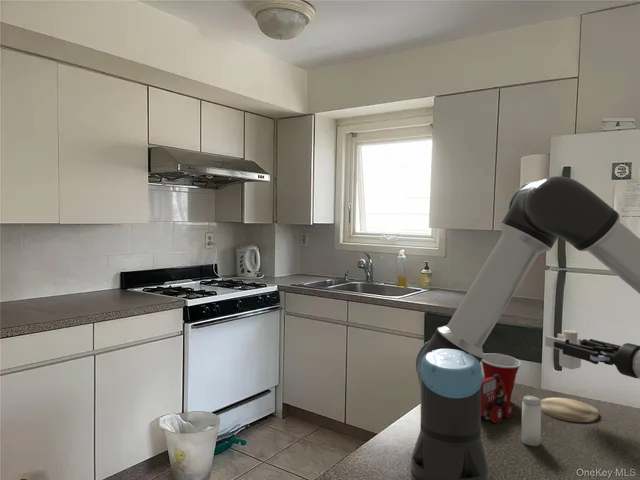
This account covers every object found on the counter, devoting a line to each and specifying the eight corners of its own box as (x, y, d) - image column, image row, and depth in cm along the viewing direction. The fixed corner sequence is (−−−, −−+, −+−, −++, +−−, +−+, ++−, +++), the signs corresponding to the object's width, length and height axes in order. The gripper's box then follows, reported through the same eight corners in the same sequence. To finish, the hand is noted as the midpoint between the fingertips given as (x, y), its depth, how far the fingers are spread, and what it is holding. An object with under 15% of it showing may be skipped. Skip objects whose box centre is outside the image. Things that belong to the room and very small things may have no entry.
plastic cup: (508, 411, 126) (509, 366, 125) (471, 399, 134) (472, 357, 134) (527, 401, 133) (528, 358, 132) (491, 390, 141) (492, 350, 141)
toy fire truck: (517, 414, 124) (518, 374, 124) (492, 427, 116) (492, 385, 116) (492, 406, 130) (493, 368, 129) (467, 418, 122) (467, 378, 121)
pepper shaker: (572, 370, 123) (573, 333, 122) (558, 366, 126) (558, 330, 126) (581, 368, 125) (582, 332, 124) (567, 363, 128) (568, 328, 128)
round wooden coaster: (599, 426, 117) (599, 422, 117) (536, 415, 123) (536, 411, 123) (597, 407, 129) (597, 403, 129) (541, 397, 136) (541, 393, 136)
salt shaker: (539, 447, 106) (540, 403, 106) (519, 443, 108) (521, 399, 108) (541, 440, 109) (542, 397, 109) (522, 436, 111) (523, 394, 111)
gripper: (617, 384, 106) (529, 357, 127) (662, 373, 113) (572, 349, 134) (618, 351, 105) (530, 329, 126) (663, 342, 113) (573, 323, 134)
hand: (552, 339), depth 130 cm, fingers closed on pepper shaker, 4 cm apart
